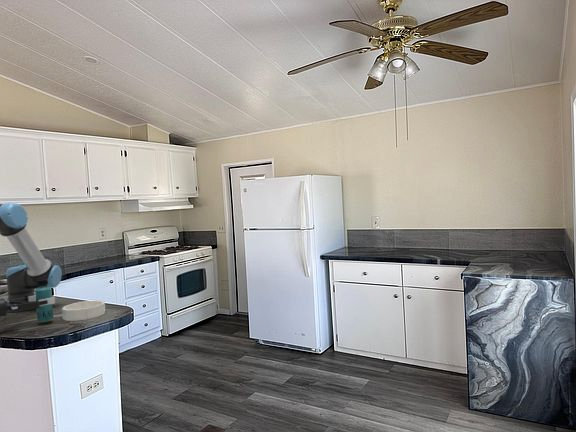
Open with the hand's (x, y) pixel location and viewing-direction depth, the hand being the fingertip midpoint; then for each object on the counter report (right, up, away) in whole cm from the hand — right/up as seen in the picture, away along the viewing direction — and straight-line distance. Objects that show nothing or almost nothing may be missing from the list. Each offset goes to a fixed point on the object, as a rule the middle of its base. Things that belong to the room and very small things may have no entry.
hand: (49, 298), depth 190 cm
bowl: (+12, -10, +9) cm, 18 cm away
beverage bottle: (-1, -11, -1) cm, 11 cm away
